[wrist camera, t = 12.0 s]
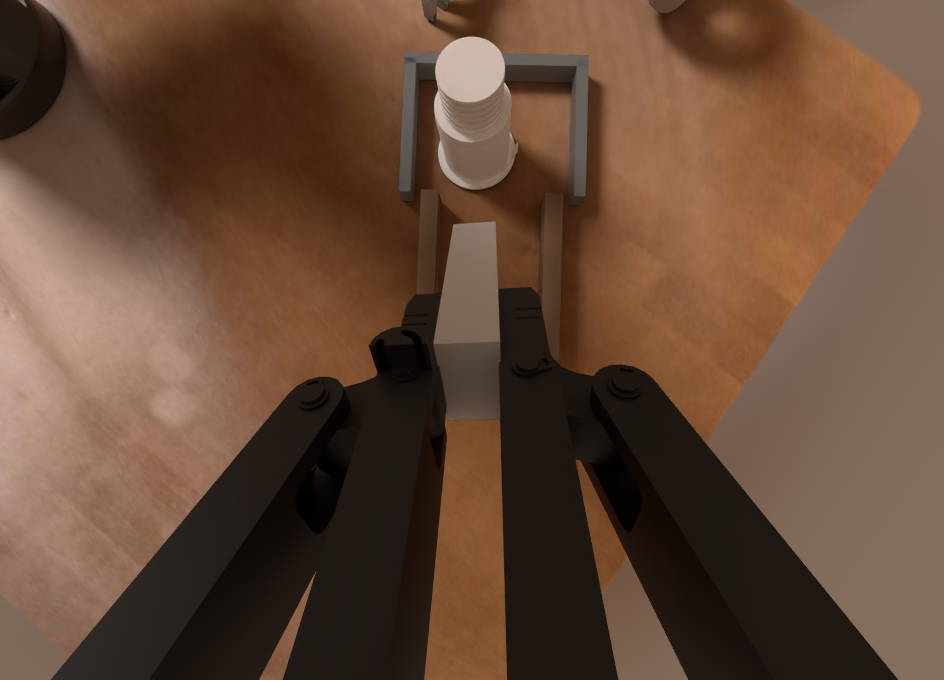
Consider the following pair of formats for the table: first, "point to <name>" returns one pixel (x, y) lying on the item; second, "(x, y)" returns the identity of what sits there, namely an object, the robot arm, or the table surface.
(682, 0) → the donut
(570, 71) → the open frame
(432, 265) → the slot
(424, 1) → the caliper
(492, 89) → the downlight
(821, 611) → the robot arm
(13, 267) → the table surface
